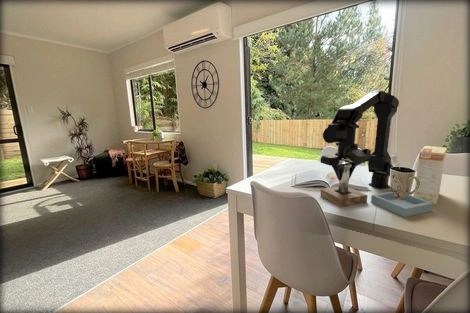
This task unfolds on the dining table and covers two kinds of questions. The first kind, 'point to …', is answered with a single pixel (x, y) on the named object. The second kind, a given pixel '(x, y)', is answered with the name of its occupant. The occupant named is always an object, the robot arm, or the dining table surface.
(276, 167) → the dining table surface
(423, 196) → the coffeecake box
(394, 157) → the eye dropper bottle
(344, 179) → the clear glass cylinder
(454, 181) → the dining table surface
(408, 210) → the tray
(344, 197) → the socket block
